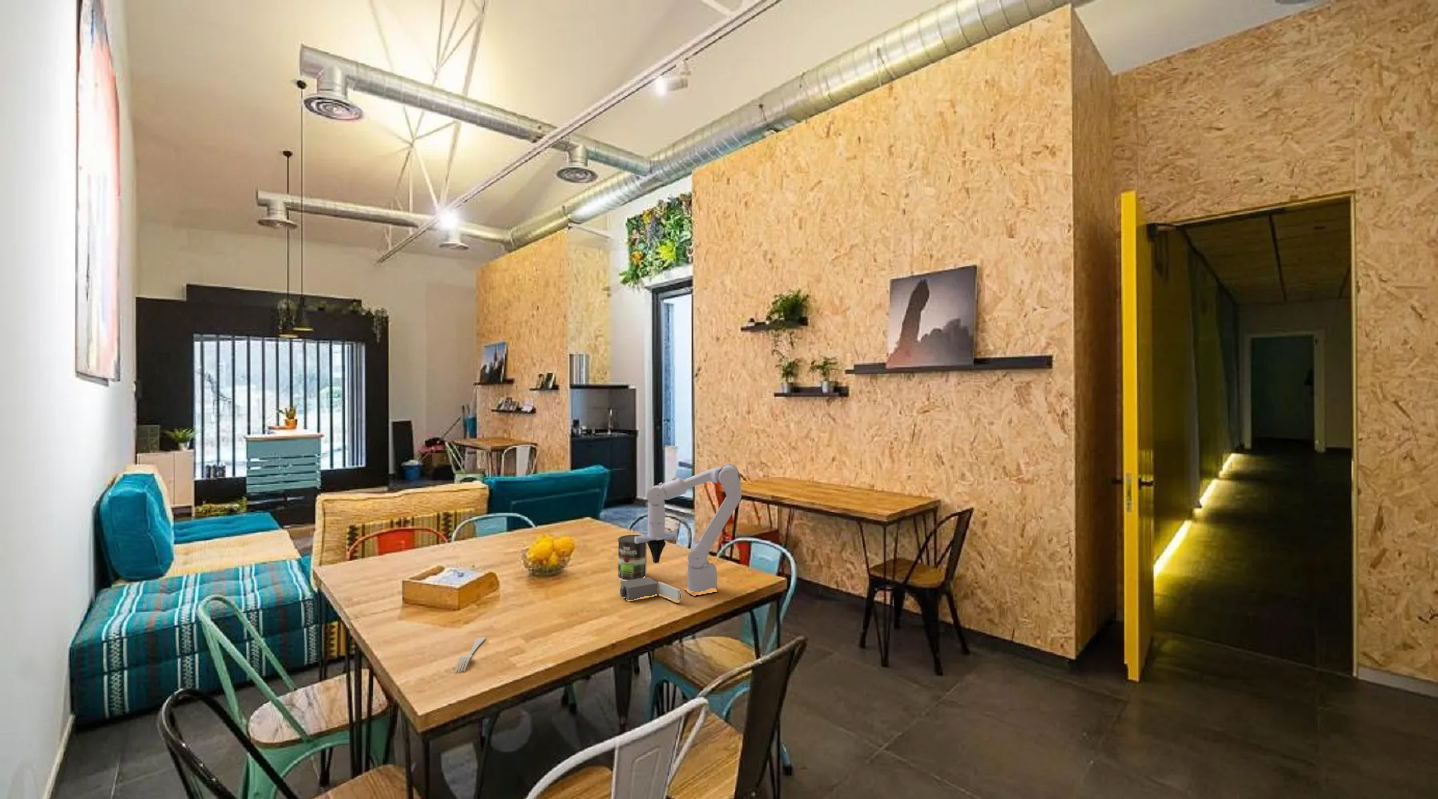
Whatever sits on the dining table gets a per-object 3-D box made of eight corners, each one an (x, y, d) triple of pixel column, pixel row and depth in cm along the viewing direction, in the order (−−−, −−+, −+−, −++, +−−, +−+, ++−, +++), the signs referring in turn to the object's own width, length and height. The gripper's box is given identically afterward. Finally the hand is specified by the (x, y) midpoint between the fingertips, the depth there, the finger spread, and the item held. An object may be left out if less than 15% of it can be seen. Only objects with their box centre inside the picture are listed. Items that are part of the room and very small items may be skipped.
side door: (657, 595, 193) (657, 582, 193) (661, 594, 194) (661, 581, 194) (677, 604, 186) (677, 590, 186) (681, 603, 187) (681, 589, 187)
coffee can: (639, 583, 205) (639, 543, 205) (612, 580, 208) (613, 540, 208) (651, 574, 215) (651, 535, 215) (625, 571, 218) (625, 533, 218)
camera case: (649, 590, 199) (649, 576, 199) (657, 596, 193) (657, 583, 193) (617, 595, 193) (617, 581, 193) (625, 602, 187) (625, 588, 187)
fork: (487, 646, 161) (487, 636, 161) (464, 675, 140) (465, 663, 141) (476, 647, 161) (477, 636, 161) (452, 676, 140) (452, 664, 140)
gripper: (639, 526, 192) (639, 568, 192) (680, 522, 198) (680, 562, 198) (632, 522, 198) (632, 562, 198) (673, 518, 204) (672, 557, 205)
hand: (655, 562), depth 199 cm, fingers closed
